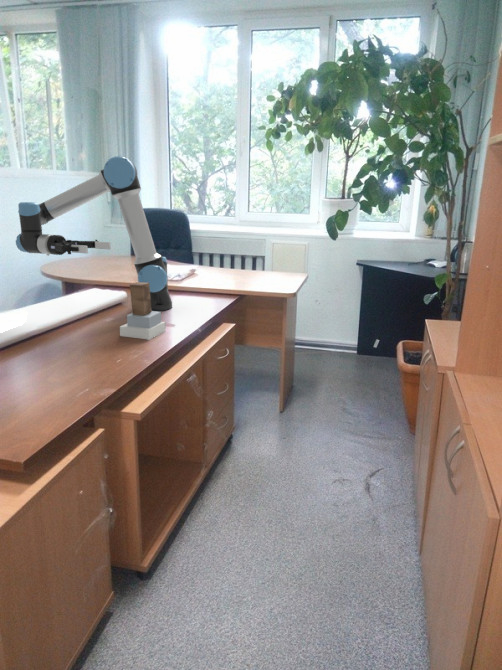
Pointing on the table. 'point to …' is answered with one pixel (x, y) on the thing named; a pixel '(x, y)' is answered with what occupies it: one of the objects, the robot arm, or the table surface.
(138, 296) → the walnut block
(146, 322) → the tower top
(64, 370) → the table surface
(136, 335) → the tower base
